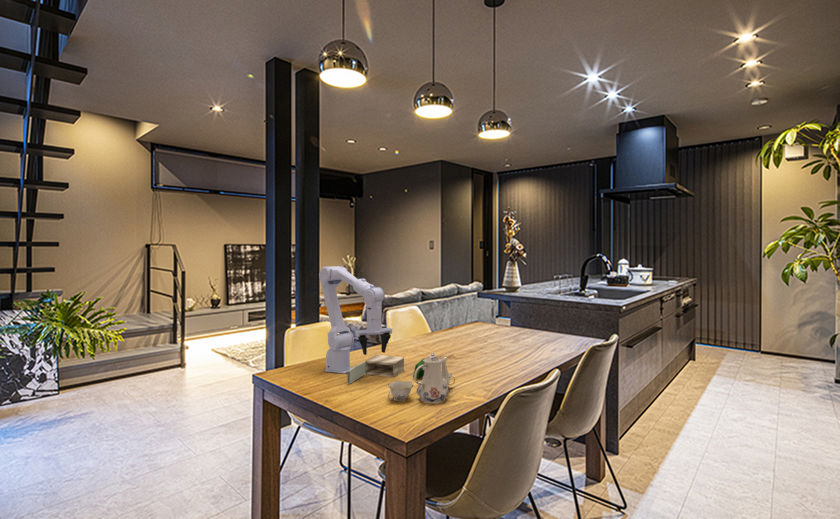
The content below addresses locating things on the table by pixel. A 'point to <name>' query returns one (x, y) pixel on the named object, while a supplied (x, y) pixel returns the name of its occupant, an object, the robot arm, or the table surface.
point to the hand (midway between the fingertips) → (374, 353)
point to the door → (356, 372)
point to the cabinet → (384, 365)
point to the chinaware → (426, 382)
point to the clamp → (420, 371)
